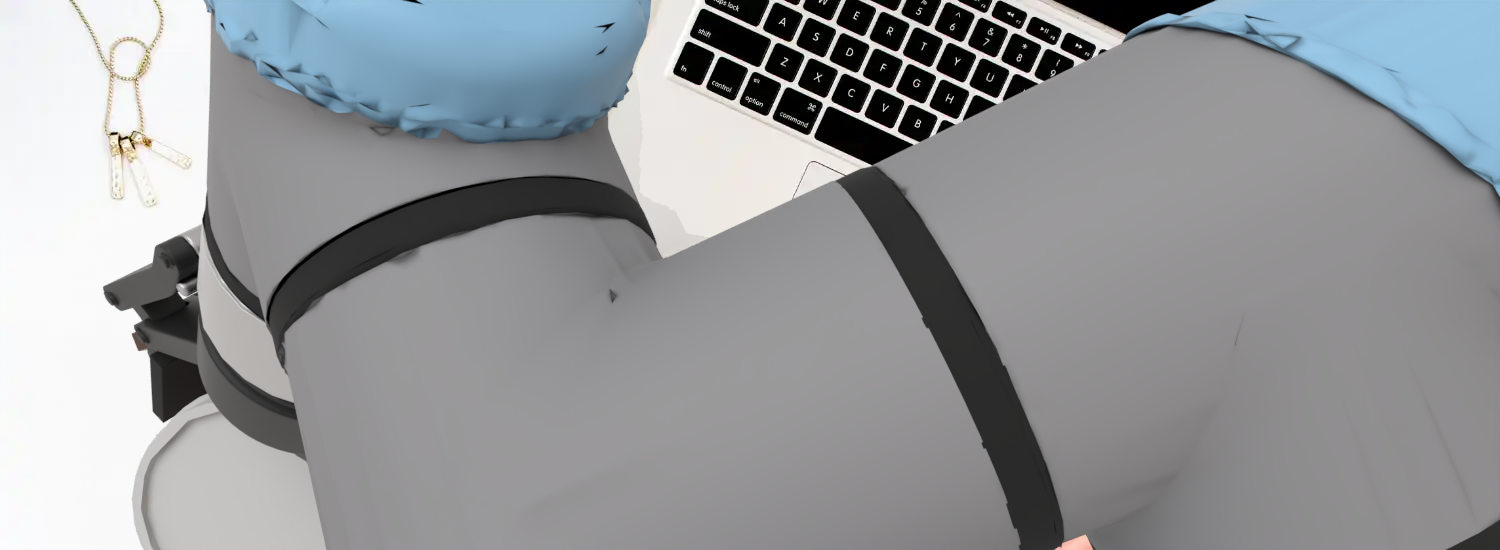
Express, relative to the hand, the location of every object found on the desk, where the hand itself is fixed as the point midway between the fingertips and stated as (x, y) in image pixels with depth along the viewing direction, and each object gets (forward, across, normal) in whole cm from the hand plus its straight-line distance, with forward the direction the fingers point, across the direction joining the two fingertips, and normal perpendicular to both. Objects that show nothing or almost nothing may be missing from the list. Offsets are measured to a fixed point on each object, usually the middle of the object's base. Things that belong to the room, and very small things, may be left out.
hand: (282, 502), depth 41 cm
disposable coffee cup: (+2, 0, -6) cm, 6 cm away
